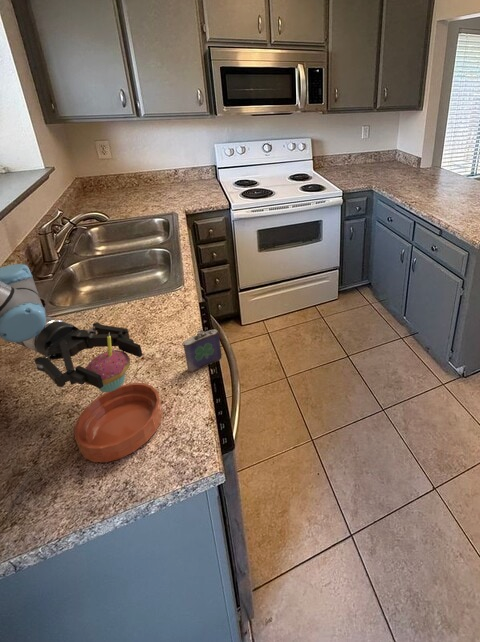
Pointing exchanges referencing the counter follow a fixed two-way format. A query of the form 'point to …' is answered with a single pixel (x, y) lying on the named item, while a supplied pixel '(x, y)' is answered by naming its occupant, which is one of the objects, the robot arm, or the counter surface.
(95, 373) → the robot arm
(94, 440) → the bowl
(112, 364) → the cupcake
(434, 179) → the counter surface
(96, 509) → the counter surface
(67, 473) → the counter surface
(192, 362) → the flask
